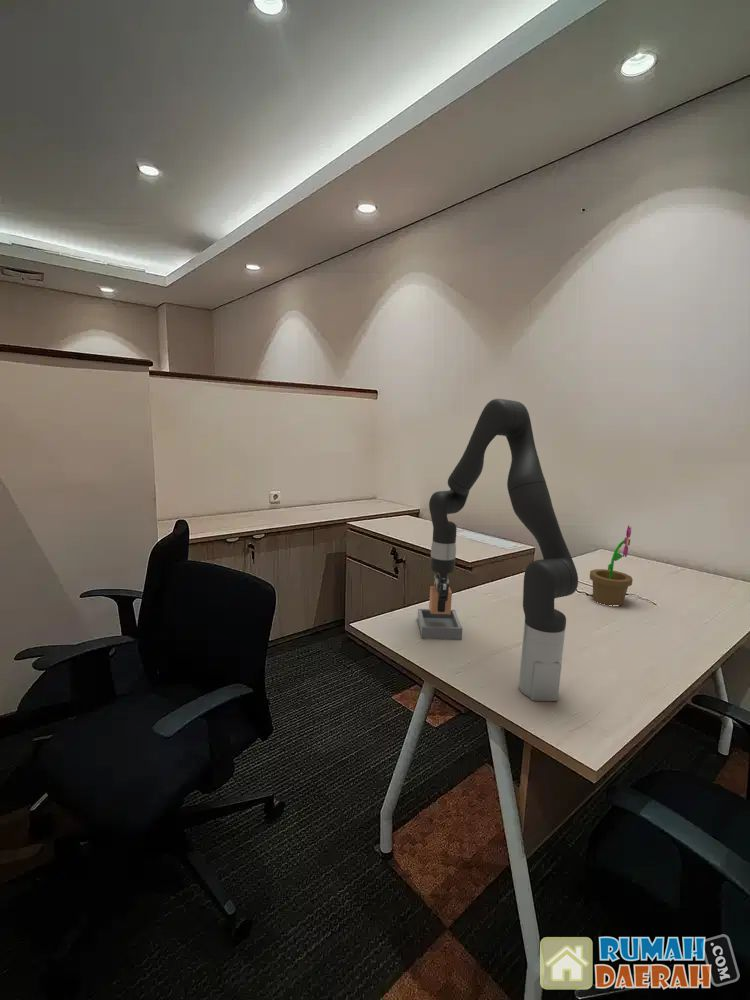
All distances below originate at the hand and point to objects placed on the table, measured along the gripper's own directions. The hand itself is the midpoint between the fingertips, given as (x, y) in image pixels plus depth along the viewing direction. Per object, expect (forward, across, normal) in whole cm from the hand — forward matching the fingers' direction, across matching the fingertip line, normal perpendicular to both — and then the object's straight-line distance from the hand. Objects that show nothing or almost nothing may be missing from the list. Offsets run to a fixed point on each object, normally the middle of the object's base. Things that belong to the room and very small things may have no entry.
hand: (439, 607), depth 147 cm
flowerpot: (+7, +28, -67) cm, 73 cm away
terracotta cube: (+1, 0, 0) cm, 1 cm away
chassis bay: (+7, 0, 0) cm, 7 cm away
